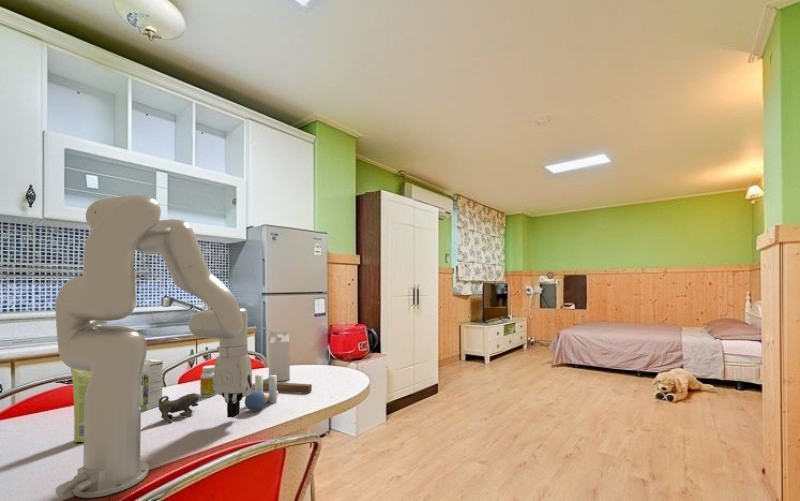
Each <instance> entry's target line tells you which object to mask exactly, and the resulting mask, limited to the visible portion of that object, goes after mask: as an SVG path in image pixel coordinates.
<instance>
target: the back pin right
mask: <svg viewBox="0 0 800 501" xmlns="http://www.w3.org/2000/svg"><path fill="white" fill-rule="evenodd" d="M268 382H269V391H268V393H269V401H268V404H269V405H270V404H277V401H278V396H277V382H278V381H277V375H270V376H269V375H268Z"/></svg>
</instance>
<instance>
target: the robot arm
mask: <svg viewBox="0 0 800 501" xmlns="http://www.w3.org/2000/svg"><path fill="white" fill-rule="evenodd" d="M161 211H162V210H161V206H160V203H159V202H158V201H157V200H156V199H154V198H153V197H151V196H149V195H144V194H130V195H122V196H116V197H114V196H113V197H107V198H101V199H98V200H96V201H94V202H92V203H91V204H90V205H89V206H88V208H87V209H86V211H85V221H86V223H87V225H88V227H89V228H90V229H91V230H90V232H89V234H88V235H87V238H86V240H85V242H84V247H83V267H82V268H83V270H82V271H83V272H82V274H83V275H80V276H77V277H74V278H72V279H69V280H68V281H66V283H64V284H63V285H62V287H61V288H60V289H59V291H58V293H57V296H56V299H55V303H54V304H55V306H54V307H55V324H56V325H55V326H56V339H57V349H58V354H59V357H60V359H61V361H62V362H63V363H64V364H65V365H66V366H67V367H69V369H71V368H73V369H77V370H82V371H91V372H92V376H91V379H90V382H89V384H88V387H87V389H86V393H85V400H84V442H83V456H82V457H83V463H82V464H83V465H82V466H81V467H79V468H77V474H76V475H74V476H73V477H72V479H70V480H67V481H66V482H63V483H61V484H59V485H58V486H57V487H56V488H55V493H56V496H58V497H62V496H64V495H67V494H68V493H69V492H72V493H74V494H75V495H74V494H73V495H74V496H76V497H78V498H84V499H92V498H100V497H107V496H110V495H114V494H118V493H119V492H122V491H124V490H127V489H130V488H131V487H134V486H135V485H137V484H139V483H140V482H141V481H143V480H144V479H145V478H146V477H147V475H148V474H149V470H150V468H149V464H148V462H145V461H142V460H141V437H142V436H141V434H142V433H141V426H142V424H141V423H142V421H141V420H142V419H141V418H142V415H141V414H142V410H141V381H142V372H143V367H144V363H145V360H147V359H146V357H147V352H148V345H147V340H146V338H145V337H144V336H143V334H142V333H141V332H139V331H137V330H136V329H134V328H131V327H127V326H120V325H119V326H118V325H117V326H116V325H108V322H110V321H111V322H112V321H119V320H123V319H125V318H127V317H129V316H130V315H131V314H132V313H133V311H134V310H135V308H136V304H137V290H136V273H135V251H137V252H140V253H144V254H149V255H161V256H162V257H161V258H163V261H164V263H165V265H166V267H167V270H168V272H169V274H170V276H171V278H172V281H173V283H174V284H175V286H176V287H177V288H178V289H180V290H182V291H184V292H186V293H187V294H190V295H192V296H193V297H197V298H198V299H200V300H201V301H203V302H204V303H206V305H207V306H208V307H209V308H210V309H204V310H201V311H198V312H196V313H194V314H193V315H192V316H191V318H190V319H189V321H188V329H189V331H190V333H191V334H192V335H193V336H195V337H198V338H202V339H217V340H218V339H219V346H217V348H216V351H217V352H218V354H219V355H218V356H217V357H216V358H215V363H214V366H215V367H214V376H213V390H214V391H215V392H216V395H218V396H222V397H223V399H224V402H225V404H226V414H227V416H226V417H227V418H231V419H233V418H235V417H237V416H239V415H240V411H241V408H240V407H241V405H240V404H241V401H242V400H243V398H246V396H249V395H251V391H252V387H253V369H252V362H251V358H250V354H248V349H249V348H248V346H249V345H248V342H249V341H248V339H249V338H248V328H249V327H248V322H249V320H248V318H249V317H248V311H247V309H246V308H244V307H240V306H239V304H238V301H237V299H236V297H235V295H234V293H232V292H231V290H230V289H229V288H228V287H227V286H226V285H225V284H224V283H223V282H222V281H221V280H220V279H219V278H218V277H216V276H215V275H213V273H212V272H211V271H210V268H209V266H208V263H207V261H206V259H205V257H204V254H203V252H202V249H201V247H200V244H199V241H198V239H197V237H196V235H195V234H196V233H195V231H194V230H193V228H192V226H191V225H190V224H189V223H188V222H187V221H184V220H182V219H172V218H171V219H160V218H161V213H162V212H161Z"/></svg>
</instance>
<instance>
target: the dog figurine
mask: <svg viewBox="0 0 800 501" xmlns="http://www.w3.org/2000/svg"><path fill="white" fill-rule="evenodd" d="M200 397H201V395H200V393H195V392H193V393H188V394H185V395H183V396H181V397H179V398H177V399H174V400H169V399H170V398H169V396H167V395H163V396H162V397H161V398H160V399H159V406H158V410H159V412H160V414H161V416H160V417H161V419H164V420H165V422H167V423H168V424H173V420H171V419H170V418H172V417H174V415H172V414H174V413H178V412H180V413H179V415H180V416H182V417H192V416H193V415H194V414H193V409H191V408H190V407H192V408H195V407H198V406H199V403H198V401H199V399H200ZM182 411H183V412H182Z"/></svg>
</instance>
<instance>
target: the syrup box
mask: <svg viewBox="0 0 800 501" xmlns="http://www.w3.org/2000/svg"><path fill="white" fill-rule="evenodd" d="M163 364H164V360H160V359H159V360H158V359H152V358H151V359H145V363H144V367H143V372H142V381H141V411H149V410H151V409H152V410H153V409H154V408H157V407H159V399H160V398H161V397H163V380H164V379H163V377H164V376H163V375H164V374H163V373H164V372H163V371H164V370H163V366H164V365H163Z"/></svg>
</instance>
